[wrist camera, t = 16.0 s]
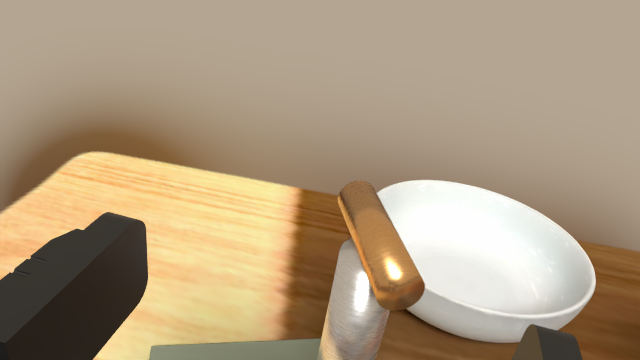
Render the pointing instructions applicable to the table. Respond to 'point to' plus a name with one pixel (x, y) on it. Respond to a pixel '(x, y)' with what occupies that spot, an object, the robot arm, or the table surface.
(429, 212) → the serving bowl
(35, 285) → the robot arm
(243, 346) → the rubber mat
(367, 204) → the cylinder
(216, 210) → the table surface
